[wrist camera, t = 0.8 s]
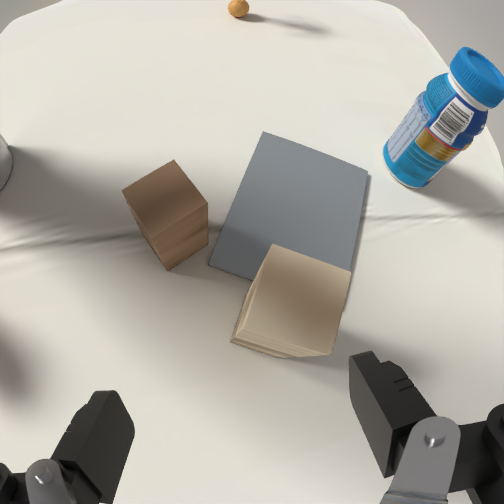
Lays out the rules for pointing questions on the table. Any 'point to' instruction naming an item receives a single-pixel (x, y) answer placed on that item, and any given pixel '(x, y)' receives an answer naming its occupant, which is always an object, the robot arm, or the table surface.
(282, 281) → the beech block
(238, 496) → the table surface
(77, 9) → the table surface
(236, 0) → the figurine
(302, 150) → the slate mat
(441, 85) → the beverage bottle
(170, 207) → the walnut block
